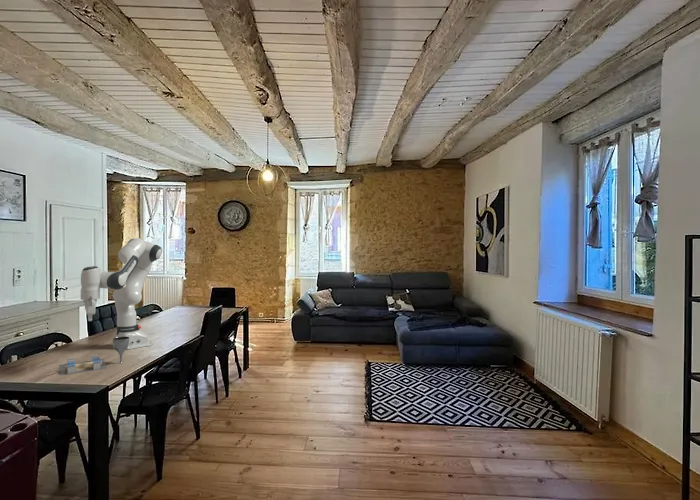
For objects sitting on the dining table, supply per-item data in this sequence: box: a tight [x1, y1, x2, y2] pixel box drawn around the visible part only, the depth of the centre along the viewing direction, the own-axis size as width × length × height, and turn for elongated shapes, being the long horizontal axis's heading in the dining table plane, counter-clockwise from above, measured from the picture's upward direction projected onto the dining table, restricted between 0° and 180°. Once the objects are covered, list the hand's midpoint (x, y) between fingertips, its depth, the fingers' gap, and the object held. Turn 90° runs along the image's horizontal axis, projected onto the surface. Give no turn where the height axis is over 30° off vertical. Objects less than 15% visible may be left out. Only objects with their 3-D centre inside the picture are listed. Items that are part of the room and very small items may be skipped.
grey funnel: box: [112, 336, 129, 364], centre depth 210 cm, size 8×8×15 cm
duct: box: [59, 353, 108, 377], centre depth 203 cm, size 20×21×5 cm
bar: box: [65, 360, 102, 373], centre depth 198 cm, size 16×3×3 cm, turn 128°
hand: (90, 320), depth 208 cm, fingers closed
